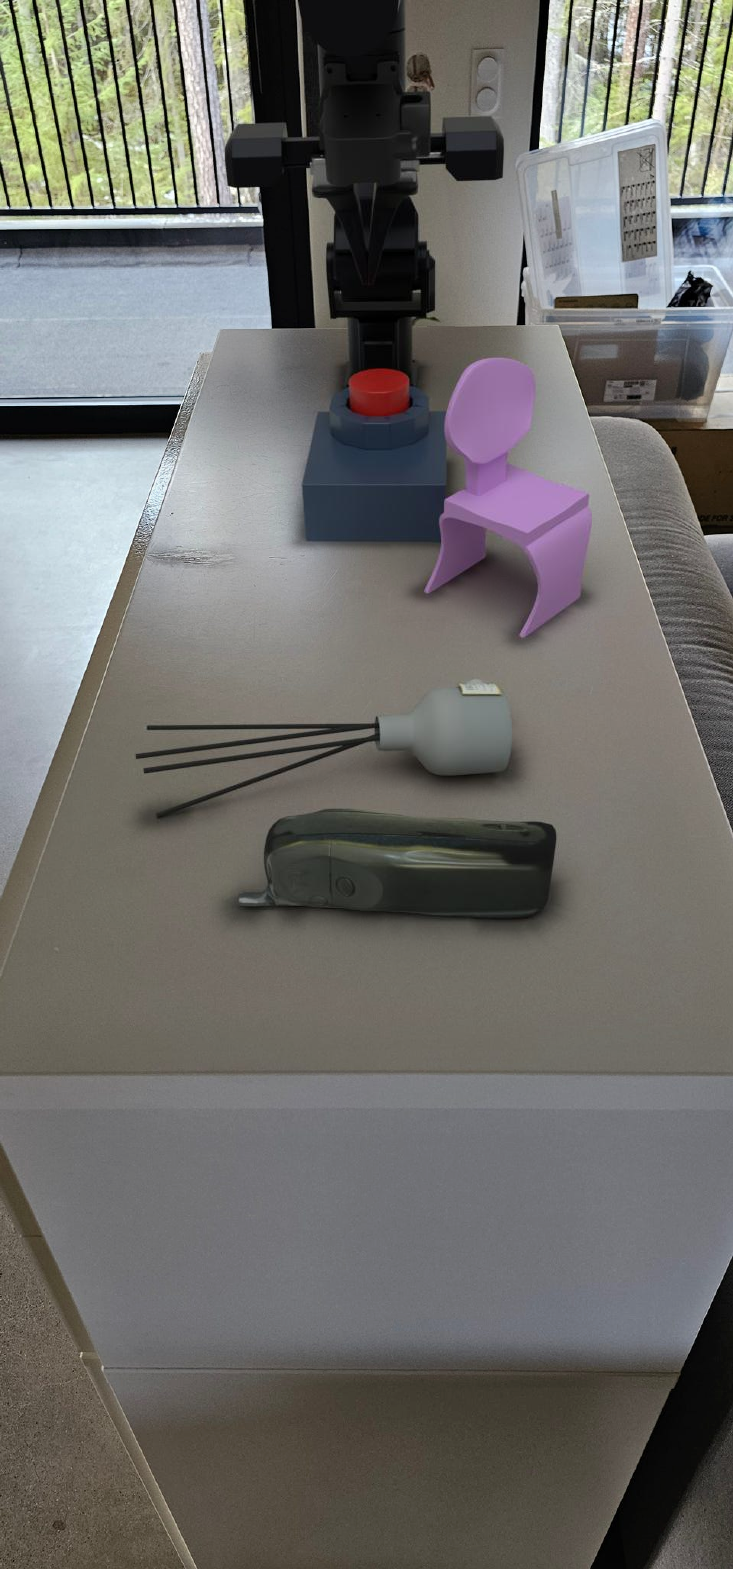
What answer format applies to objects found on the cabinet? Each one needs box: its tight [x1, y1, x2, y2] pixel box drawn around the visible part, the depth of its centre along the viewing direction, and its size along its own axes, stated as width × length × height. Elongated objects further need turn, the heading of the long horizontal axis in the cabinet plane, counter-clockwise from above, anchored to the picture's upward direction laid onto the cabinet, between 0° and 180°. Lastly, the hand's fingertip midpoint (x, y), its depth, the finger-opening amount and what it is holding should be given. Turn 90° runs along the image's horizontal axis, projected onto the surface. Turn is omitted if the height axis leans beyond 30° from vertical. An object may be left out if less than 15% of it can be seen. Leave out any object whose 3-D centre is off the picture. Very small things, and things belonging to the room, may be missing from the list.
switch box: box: [301, 386, 448, 543], centre depth 81 cm, size 13×10×6 cm
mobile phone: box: [237, 808, 557, 920], centre depth 52 cm, size 5×3×15 cm
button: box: [349, 369, 409, 417], centre depth 81 cm, size 4×4×2 cm
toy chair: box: [423, 357, 593, 639], centre depth 68 cm, size 8×9×15 cm
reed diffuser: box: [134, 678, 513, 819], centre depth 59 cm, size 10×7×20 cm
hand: (367, 283), depth 81 cm, fingers closed
